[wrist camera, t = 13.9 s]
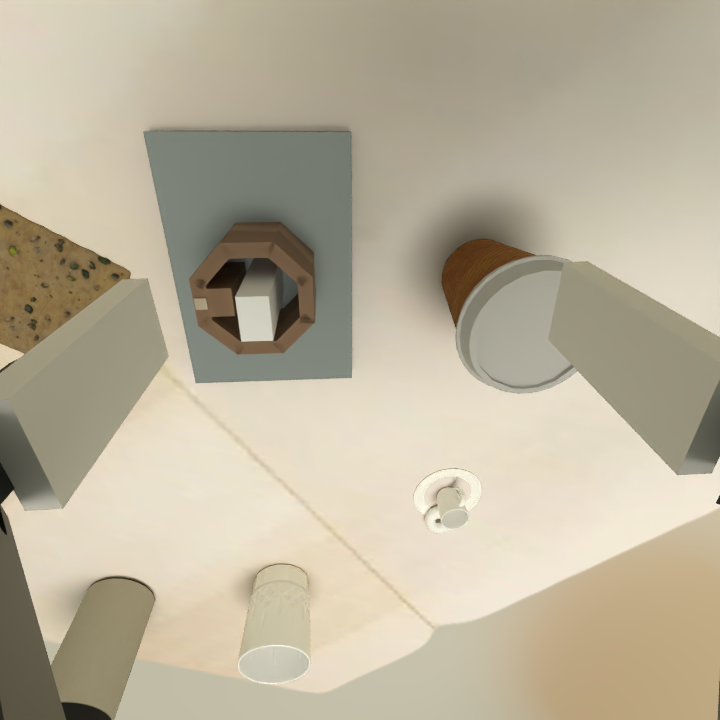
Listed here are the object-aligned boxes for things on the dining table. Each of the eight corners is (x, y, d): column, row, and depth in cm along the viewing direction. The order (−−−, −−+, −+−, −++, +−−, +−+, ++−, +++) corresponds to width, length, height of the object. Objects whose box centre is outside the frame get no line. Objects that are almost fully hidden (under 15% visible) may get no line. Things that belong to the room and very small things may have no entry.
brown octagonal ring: (312, 221, 33) (310, 241, 28) (317, 318, 37) (316, 353, 32) (203, 222, 33) (180, 243, 27) (220, 321, 37) (203, 357, 31)
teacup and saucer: (441, 528, 54) (449, 557, 51) (394, 501, 51) (399, 529, 48) (494, 486, 51) (507, 513, 48) (447, 454, 48) (457, 481, 45)
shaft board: (349, 131, 32) (360, 138, 23) (350, 369, 41) (358, 441, 32) (150, 130, 31) (78, 137, 22) (200, 374, 41) (164, 450, 31)
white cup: (237, 576, 55) (221, 662, 46) (289, 551, 54) (283, 636, 45) (274, 606, 59) (266, 691, 50) (324, 584, 57) (324, 668, 48)
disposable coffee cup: (459, 198, 35) (518, 235, 24) (553, 247, 37) (644, 299, 27) (403, 302, 39) (433, 372, 28) (492, 339, 41) (550, 416, 31)
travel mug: (73, 590, 54) (-28, 784, 38) (125, 567, 53) (42, 759, 37) (119, 621, 58) (43, 810, 42) (168, 601, 56) (109, 788, 41)
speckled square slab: (-61, 317, 37) (-70, 322, 36) (-31, 185, 32) (-40, 187, 31) (89, 379, 40) (84, 384, 40) (135, 269, 36) (131, 273, 35)
